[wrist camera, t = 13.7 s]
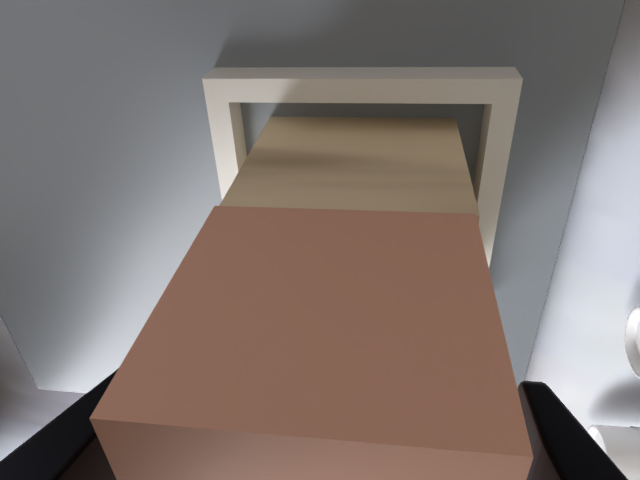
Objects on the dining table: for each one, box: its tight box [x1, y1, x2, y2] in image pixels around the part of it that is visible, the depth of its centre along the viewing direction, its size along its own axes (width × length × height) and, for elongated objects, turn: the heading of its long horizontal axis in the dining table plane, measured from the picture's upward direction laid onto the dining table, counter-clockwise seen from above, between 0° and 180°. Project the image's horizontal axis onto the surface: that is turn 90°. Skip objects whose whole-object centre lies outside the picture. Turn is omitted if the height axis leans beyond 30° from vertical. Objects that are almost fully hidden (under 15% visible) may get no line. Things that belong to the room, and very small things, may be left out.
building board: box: [0, 0, 625, 393], centre depth 16 cm, size 20×20×2 cm
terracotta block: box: [89, 206, 533, 480], centre depth 9 cm, size 5×5×5 cm
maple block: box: [219, 116, 480, 224], centre depth 13 cm, size 5×5×5 cm
